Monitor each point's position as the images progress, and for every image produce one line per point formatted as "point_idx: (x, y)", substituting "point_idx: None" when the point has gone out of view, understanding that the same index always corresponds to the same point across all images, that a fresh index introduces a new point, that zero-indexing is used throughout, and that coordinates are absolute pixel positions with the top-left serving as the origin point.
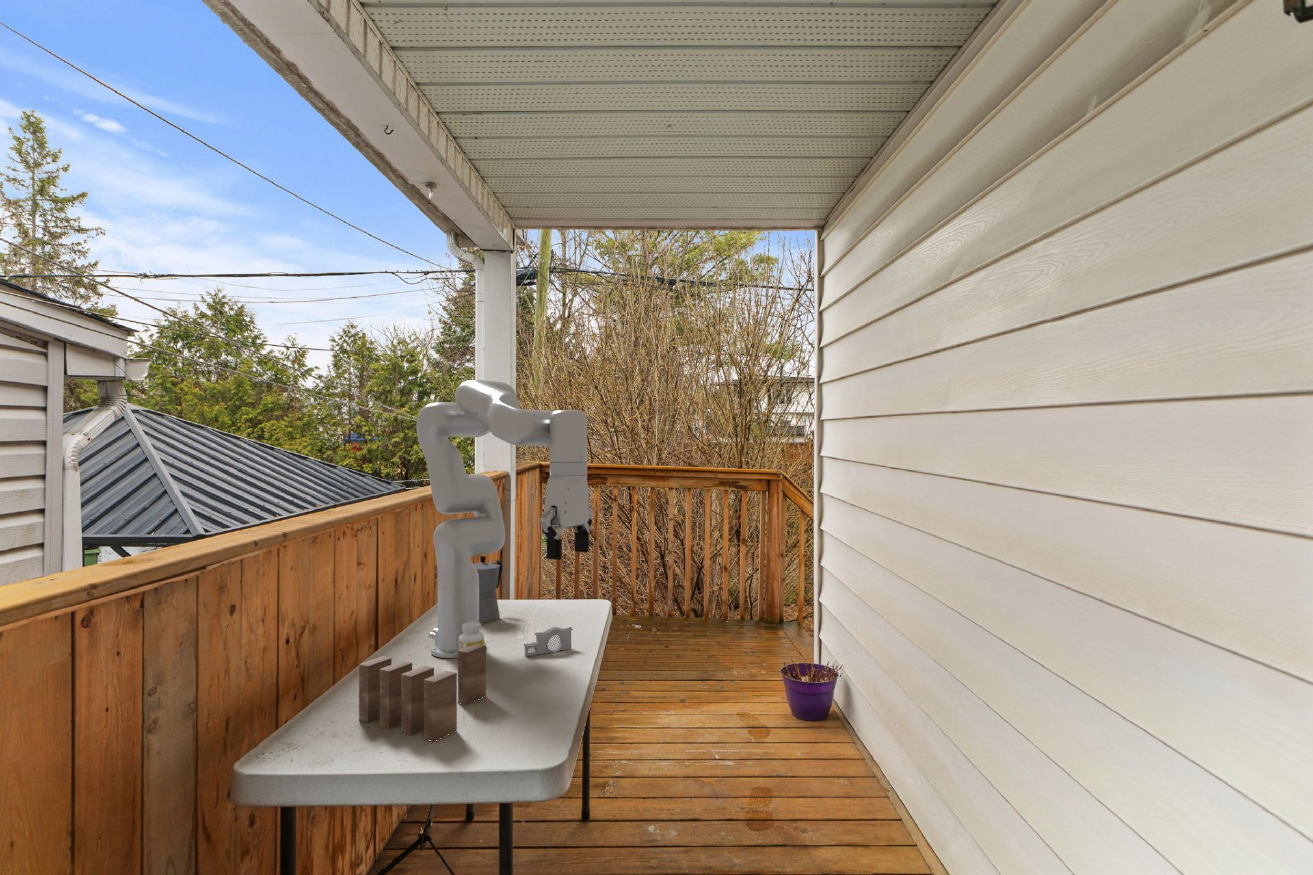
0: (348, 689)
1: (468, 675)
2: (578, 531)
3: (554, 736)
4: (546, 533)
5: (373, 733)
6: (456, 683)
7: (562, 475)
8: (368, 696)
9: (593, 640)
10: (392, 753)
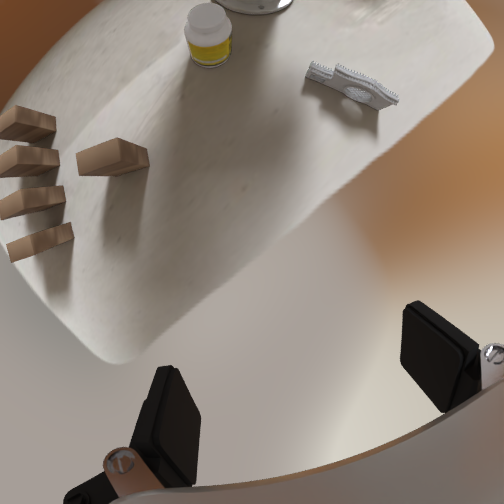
0: (75, 32)
1: (99, 175)
2: (468, 377)
3: (142, 332)
4: (96, 489)
5: None
6: (42, 251)
7: None
8: (16, 140)
9: (421, 116)
10: (23, 234)
